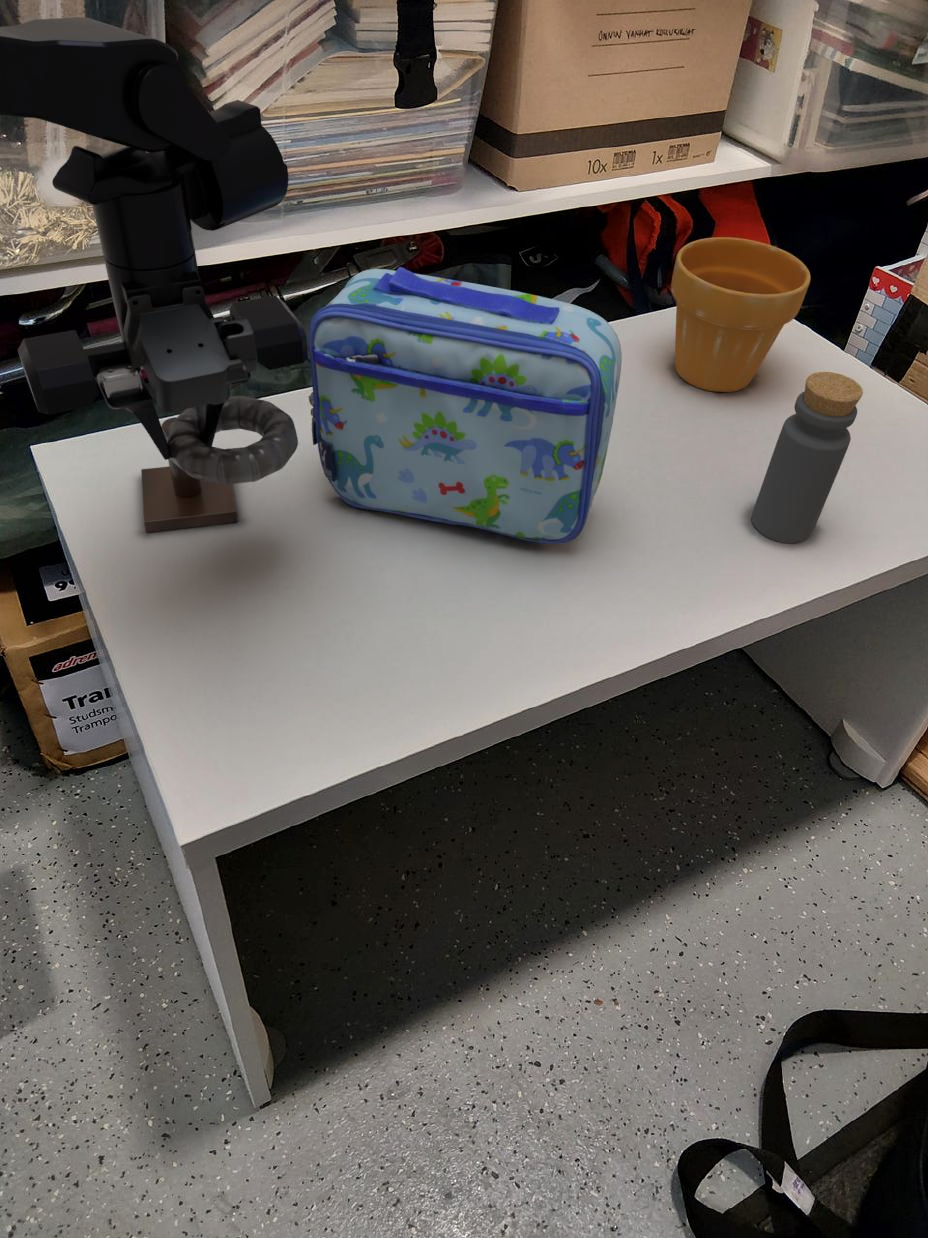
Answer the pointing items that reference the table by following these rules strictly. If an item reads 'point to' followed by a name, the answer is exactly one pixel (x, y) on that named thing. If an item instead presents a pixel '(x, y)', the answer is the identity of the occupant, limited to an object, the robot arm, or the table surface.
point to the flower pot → (732, 308)
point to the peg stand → (183, 498)
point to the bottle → (807, 458)
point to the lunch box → (463, 403)
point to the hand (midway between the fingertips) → (186, 452)
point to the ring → (235, 461)
